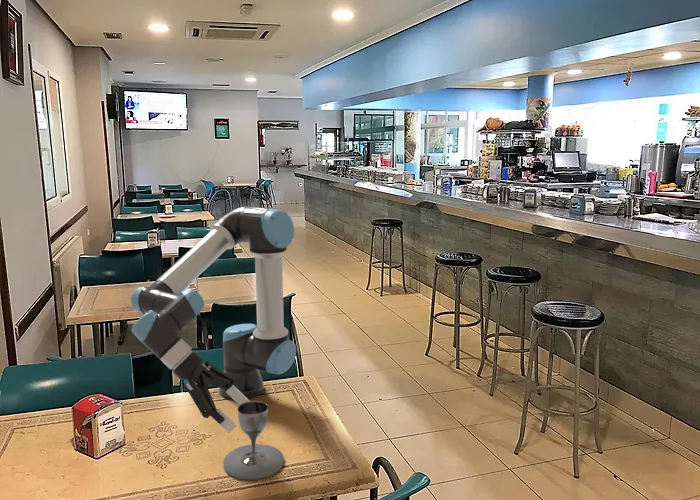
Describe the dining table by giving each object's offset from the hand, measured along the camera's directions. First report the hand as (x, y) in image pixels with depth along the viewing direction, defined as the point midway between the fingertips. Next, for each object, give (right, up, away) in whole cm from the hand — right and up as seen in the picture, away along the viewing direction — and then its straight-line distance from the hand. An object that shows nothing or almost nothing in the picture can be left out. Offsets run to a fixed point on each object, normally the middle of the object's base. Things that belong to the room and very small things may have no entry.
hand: (239, 416), depth 154 cm
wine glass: (+3, -13, +3) cm, 13 cm away
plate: (+3, -13, +3) cm, 14 cm away
